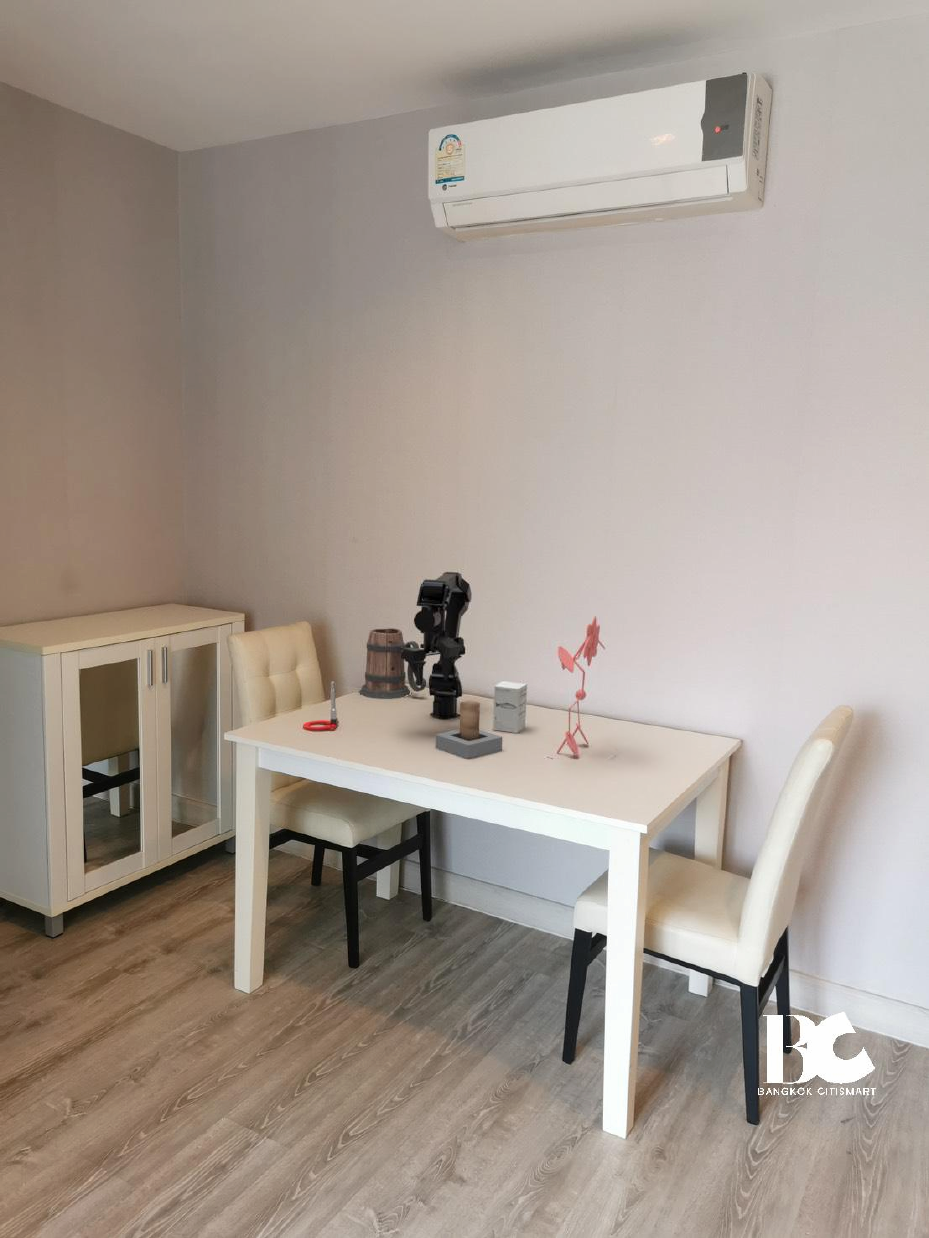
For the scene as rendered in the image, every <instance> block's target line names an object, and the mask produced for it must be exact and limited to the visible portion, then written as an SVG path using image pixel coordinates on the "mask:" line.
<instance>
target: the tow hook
mask: <svg viewBox="0 0 929 1238" xmlns="http://www.w3.org/2000/svg"><path fill="white" fill-rule="evenodd" d="M330 688H331V689H330V707H331V709H330V720H326V719H325V720H323V719H322V720H321V719H320V720H310V721H307V722H305V723H303V724H302V729H304V730H305V731H312V732H317V731H318V732H319V731H330V732H331V731H332V732H334V731H335V730H336V728H337V727H338V725H339V724H340V721H339V720H338V717H337V715H338V714H337V713H338V712H337V711H338V710H337V707H336V689H335V682H334V681H330ZM315 725H316V726H315ZM317 725H322V726H317ZM323 725H324V726H323Z"/></svg>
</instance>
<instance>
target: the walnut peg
mask: <svg viewBox="0 0 929 1238" xmlns="http://www.w3.org/2000/svg"><path fill="white" fill-rule="evenodd" d="M459 705H460V706H459V709H460V710H459V714H460V716H459V729H460V731H459V738H460V739H463V740H466V741H472V740H476V739H479V730H480V715H481V713H480V712H481V703H480V702H479V701H475V700H465V701H460V703H459Z"/></svg>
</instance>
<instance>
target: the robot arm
mask: <svg viewBox="0 0 929 1238" xmlns="http://www.w3.org/2000/svg"><path fill="white" fill-rule="evenodd" d="M462 576H463V575H462V574H461V573H459V572H457V571H456V572H455V571H446V572H443V573H442V575H440V576H438V577H437V578H436V579H423V581H422V583H420V586H419V591H418V595H417V601H416V607H421V610H420V611H417V612H416V614H415V616H414V617H413V624H414V627H415V628H416V629H417V631H420V634H423V643H420V646H419V648H415V647H413V646H411V648H404V649H403V650H402V652H401V659H404V662H407V663H408V664H409V665H410V667H411V669H412V671H413V676H414V679H415V681H416V680H417V682H418V684H419V686H421V685H422V682H423V678H424V667H425V665H426V664H427V661H426V660H425V659H427V657H430V656H435V655H436V656H437V655H439V659H438V660H437V662H436V663H433V665H432V666H431V667H432V669H431V674H430V675H429V676H428V689H429V690H428V691H429V692H428V693H429V696H433V702H432V712H430V713H429V715H430V716H432V717H435V718H439V719H442V720H448V719H452V718H457V717H460V713H457V710H458V709H457V707H458V698H459V697H460V698H461V697H463V686H462V682H461V679H460V676H459V674H460V673H459V671H458V668H457V666H456V662H457V661H458V660H459V659H462V655H463V656H464V655H466V647H465V640H464V638H463V637H462V636H460V628H461V622H462V617H463V616H464V615H465V613H466V612H467V611H468V609H469V605H470V603H471V602H472V591H471V589H472V588H471V586H470V583H468V582H467V580H465V579H464V578H463V577H462Z"/></svg>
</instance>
